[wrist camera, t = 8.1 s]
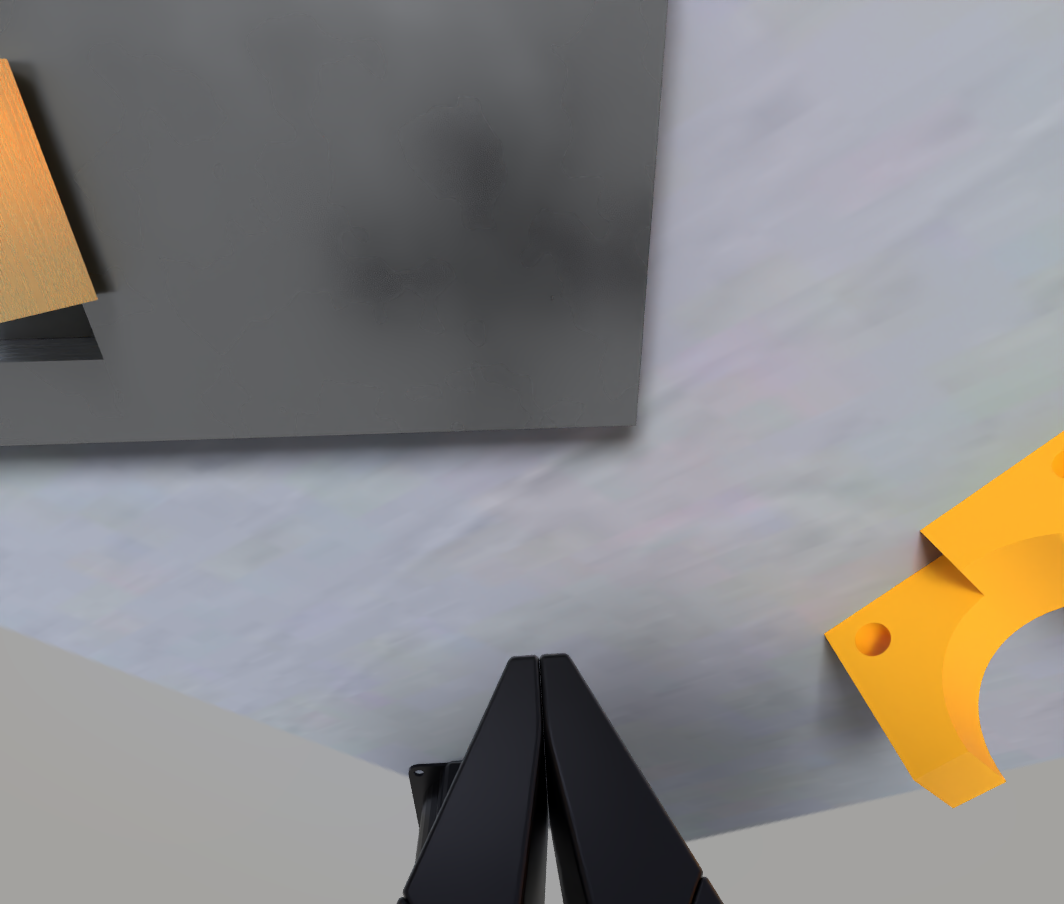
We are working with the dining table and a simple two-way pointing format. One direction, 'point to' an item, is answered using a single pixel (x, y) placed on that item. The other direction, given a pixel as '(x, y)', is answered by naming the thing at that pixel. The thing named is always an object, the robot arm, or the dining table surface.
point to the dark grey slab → (340, 214)
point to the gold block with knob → (32, 221)
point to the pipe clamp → (960, 623)
